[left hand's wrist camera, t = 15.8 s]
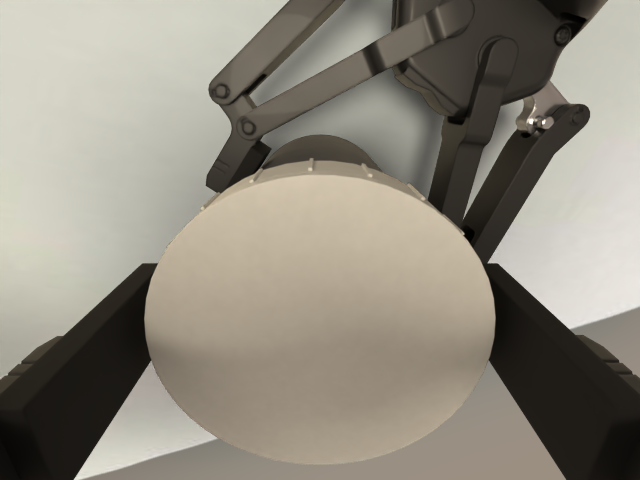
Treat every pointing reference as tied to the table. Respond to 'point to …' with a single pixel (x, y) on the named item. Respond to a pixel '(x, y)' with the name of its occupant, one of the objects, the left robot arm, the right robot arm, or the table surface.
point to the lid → (320, 315)
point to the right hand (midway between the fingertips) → (277, 288)
